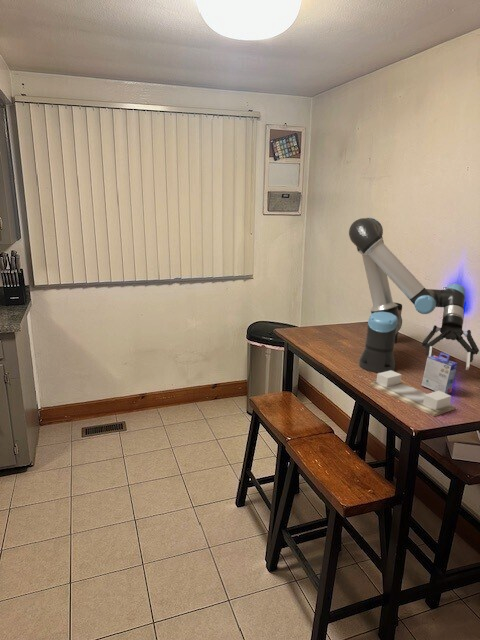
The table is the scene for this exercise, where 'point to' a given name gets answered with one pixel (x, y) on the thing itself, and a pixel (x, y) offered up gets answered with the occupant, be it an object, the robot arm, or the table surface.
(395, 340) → the black tan cylinder
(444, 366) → the ink cartridge box
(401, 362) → the table surface
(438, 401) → the mounted modules
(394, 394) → the rail board
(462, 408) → the table surface
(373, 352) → the robot arm
